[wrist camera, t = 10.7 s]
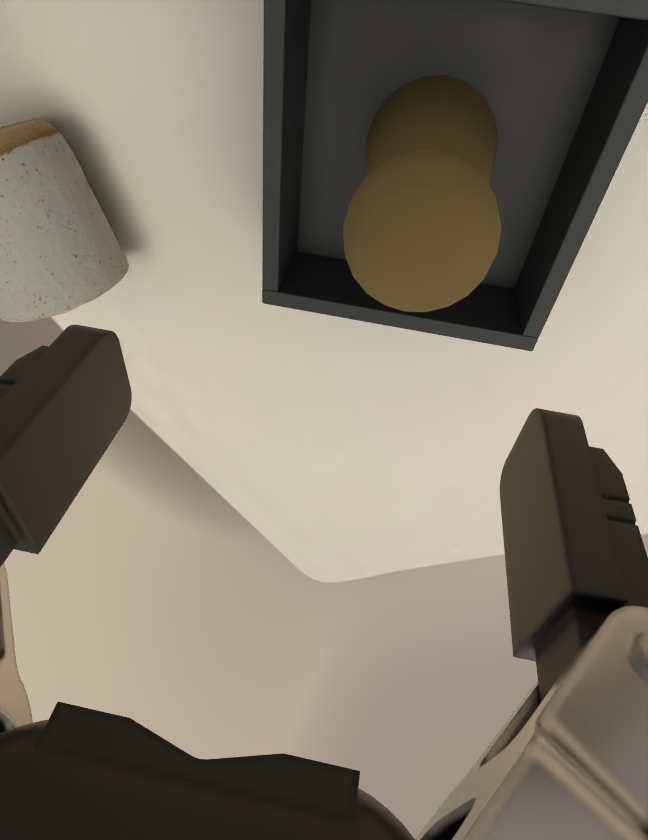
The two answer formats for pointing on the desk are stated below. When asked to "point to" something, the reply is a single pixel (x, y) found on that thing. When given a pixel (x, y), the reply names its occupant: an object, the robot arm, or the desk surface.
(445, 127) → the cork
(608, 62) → the open box
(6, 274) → the ceramic mug
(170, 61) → the desk surface
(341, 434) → the desk surface
